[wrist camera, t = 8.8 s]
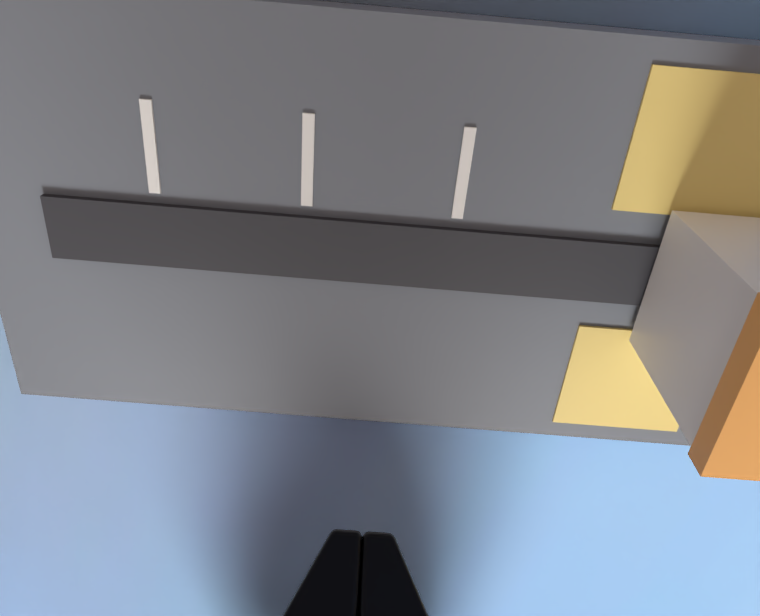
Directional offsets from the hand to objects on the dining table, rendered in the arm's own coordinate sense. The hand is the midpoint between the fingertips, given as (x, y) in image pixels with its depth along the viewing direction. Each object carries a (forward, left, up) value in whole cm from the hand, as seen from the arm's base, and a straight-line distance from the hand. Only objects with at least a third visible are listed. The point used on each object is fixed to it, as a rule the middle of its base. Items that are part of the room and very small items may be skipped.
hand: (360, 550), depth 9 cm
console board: (0, -2, -12) cm, 12 cm away
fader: (0, -9, -10) cm, 14 cm away
